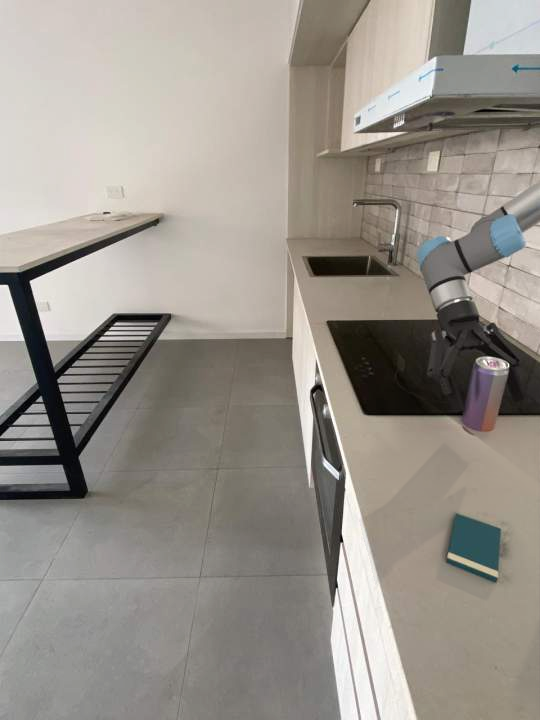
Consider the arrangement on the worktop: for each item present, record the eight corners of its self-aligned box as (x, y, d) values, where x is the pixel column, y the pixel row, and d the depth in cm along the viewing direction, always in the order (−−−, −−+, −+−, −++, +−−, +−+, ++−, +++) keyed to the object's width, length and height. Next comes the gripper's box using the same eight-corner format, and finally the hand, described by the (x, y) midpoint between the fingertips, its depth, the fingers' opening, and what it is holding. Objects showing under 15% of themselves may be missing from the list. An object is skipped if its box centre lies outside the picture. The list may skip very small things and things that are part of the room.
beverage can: (462, 435, 78) (476, 367, 72) (458, 418, 83) (472, 354, 77) (495, 440, 77) (513, 371, 70) (489, 423, 82) (506, 357, 75)
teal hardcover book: (455, 516, 60) (456, 512, 60) (499, 532, 57) (501, 528, 57) (446, 562, 53) (447, 558, 53) (496, 583, 50) (497, 578, 50)
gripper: (494, 309, 88) (531, 401, 81) (391, 320, 83) (421, 419, 76) (518, 292, 81) (561, 391, 74) (408, 304, 76) (442, 410, 69)
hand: (490, 406), depth 75 cm, fingers open, 13 cm apart
